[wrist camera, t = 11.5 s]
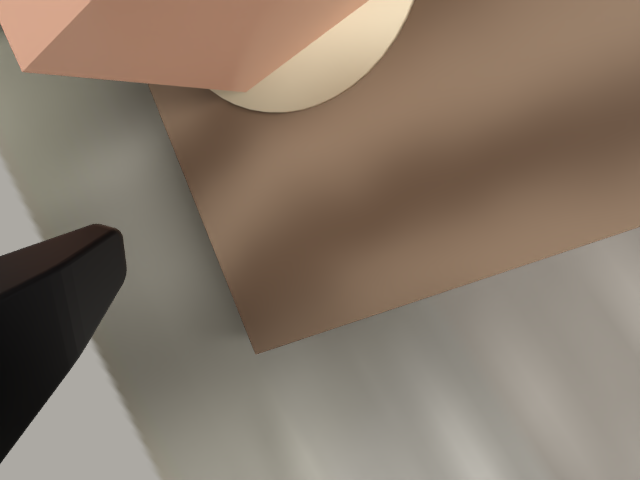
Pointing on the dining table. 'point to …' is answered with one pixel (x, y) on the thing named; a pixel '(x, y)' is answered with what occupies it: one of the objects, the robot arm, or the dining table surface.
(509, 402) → the dining table surface
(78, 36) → the peach colored cube
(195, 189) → the walnut board
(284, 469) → the dining table surface
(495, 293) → the dining table surface
